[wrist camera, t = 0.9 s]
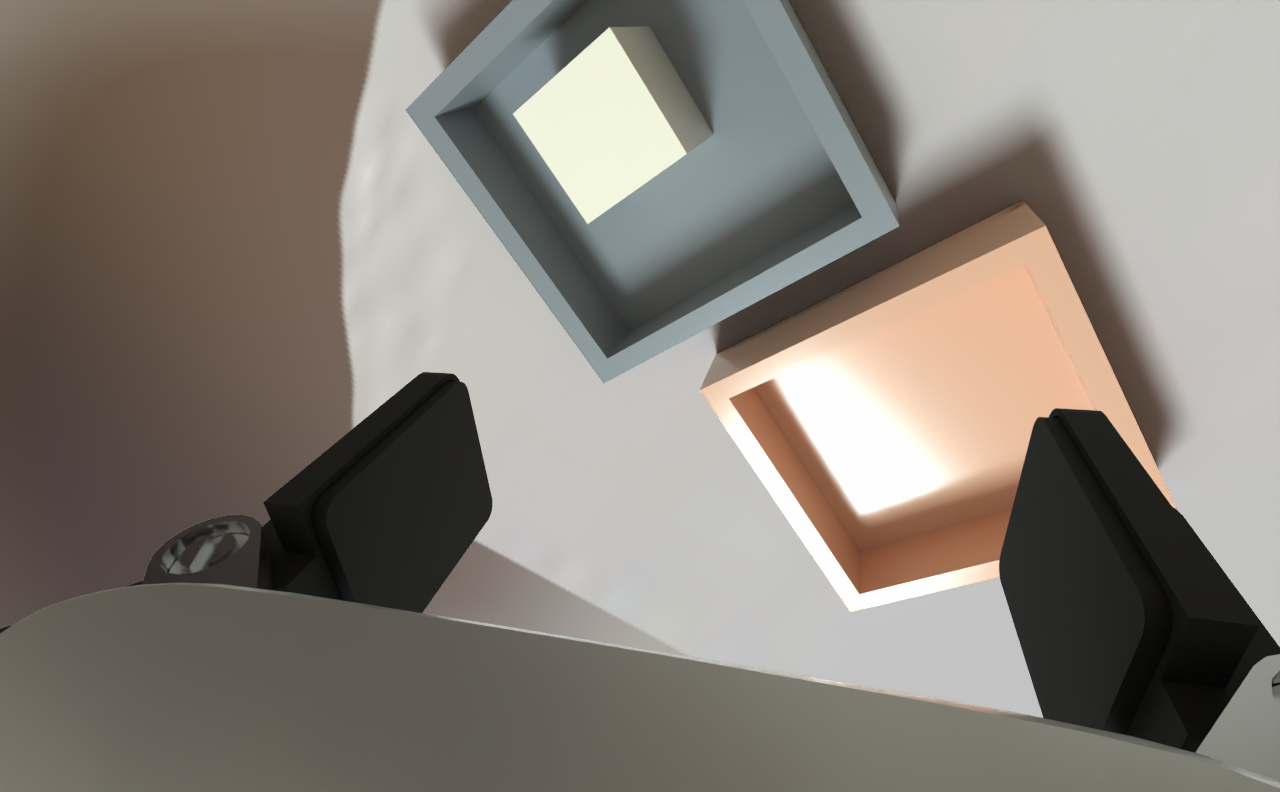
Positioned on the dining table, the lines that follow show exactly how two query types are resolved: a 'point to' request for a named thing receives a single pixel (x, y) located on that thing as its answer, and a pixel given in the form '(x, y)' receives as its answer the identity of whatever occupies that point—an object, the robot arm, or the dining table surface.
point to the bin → (664, 171)
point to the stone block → (613, 119)
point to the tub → (918, 407)
